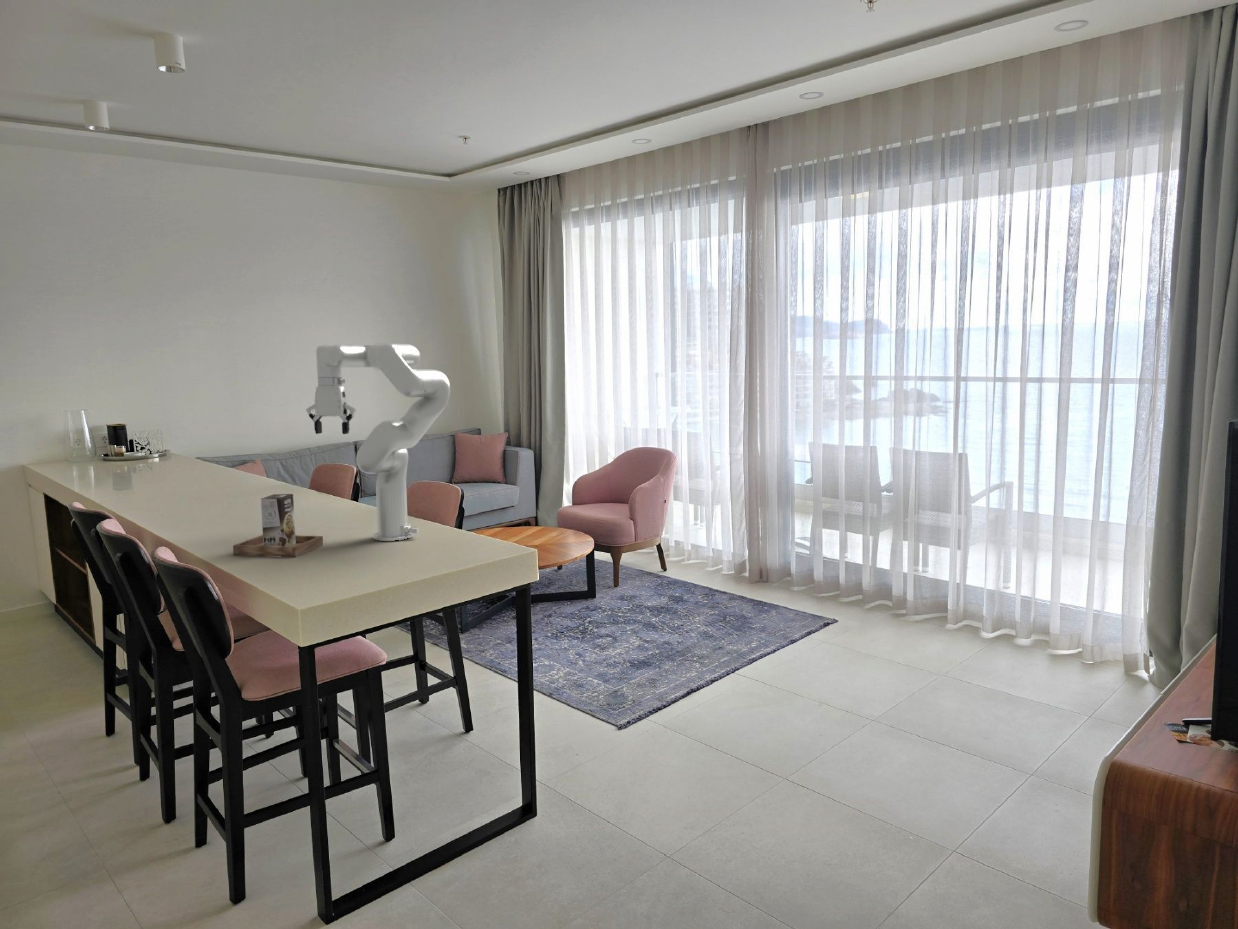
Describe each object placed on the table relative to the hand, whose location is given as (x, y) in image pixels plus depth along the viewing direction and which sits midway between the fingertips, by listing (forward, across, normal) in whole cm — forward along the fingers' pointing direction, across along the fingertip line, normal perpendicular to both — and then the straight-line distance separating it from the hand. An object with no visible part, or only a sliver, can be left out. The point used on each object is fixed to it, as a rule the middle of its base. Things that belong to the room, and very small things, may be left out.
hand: (332, 433), depth 275 cm
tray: (+33, +3, +30) cm, 45 cm away
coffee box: (+33, +3, +30) cm, 44 cm away
